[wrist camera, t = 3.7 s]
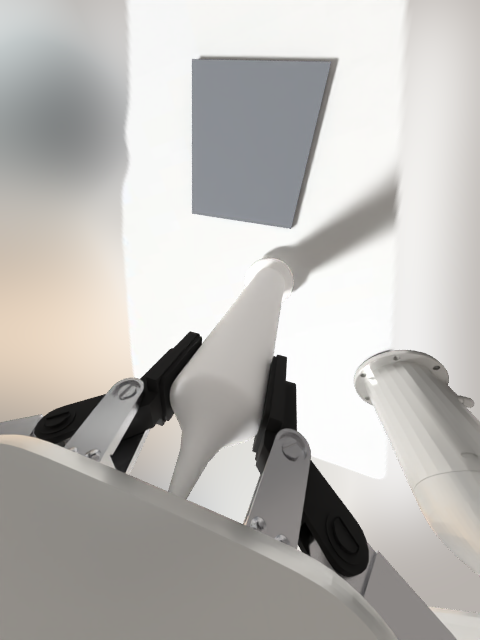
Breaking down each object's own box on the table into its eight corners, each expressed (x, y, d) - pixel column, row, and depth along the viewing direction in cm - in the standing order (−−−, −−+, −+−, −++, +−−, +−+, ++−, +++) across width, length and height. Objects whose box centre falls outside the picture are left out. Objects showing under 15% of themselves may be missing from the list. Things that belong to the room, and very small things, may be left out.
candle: (293, 254, 24) (295, 478, 3) (293, 304, 27) (295, 592, 6) (242, 260, 26) (18, 413, 5) (248, 305, 29) (124, 523, 8)
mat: (329, 67, 18) (331, 61, 17) (291, 228, 24) (291, 228, 24) (195, 64, 20) (192, 59, 19) (194, 213, 27) (192, 213, 26)
